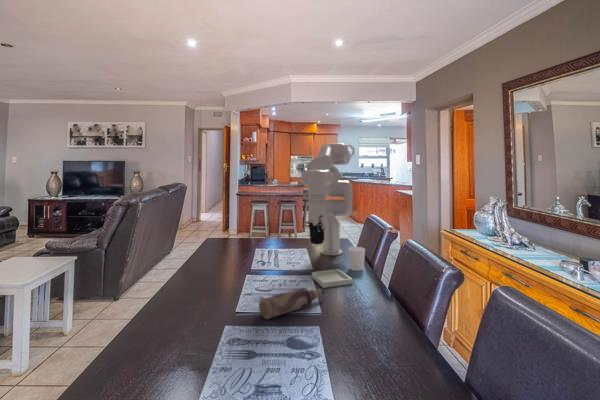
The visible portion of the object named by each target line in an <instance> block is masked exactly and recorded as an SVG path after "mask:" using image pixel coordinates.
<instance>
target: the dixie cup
mask: <svg viewBox="0 0 600 400" xmlns="http://www.w3.org/2000/svg"><path fill="white" fill-rule="evenodd" d="M325 222H326V220H325ZM307 223H308V231H309V239H310V244H311V246H312V247H322V246H323V241H317V232H318V231H317V225H316V226H313V222H311V221H309V220H308V219H307ZM318 224H321V222H318ZM319 228H320V226H319ZM324 229H325V228H324Z"/></svg>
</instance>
